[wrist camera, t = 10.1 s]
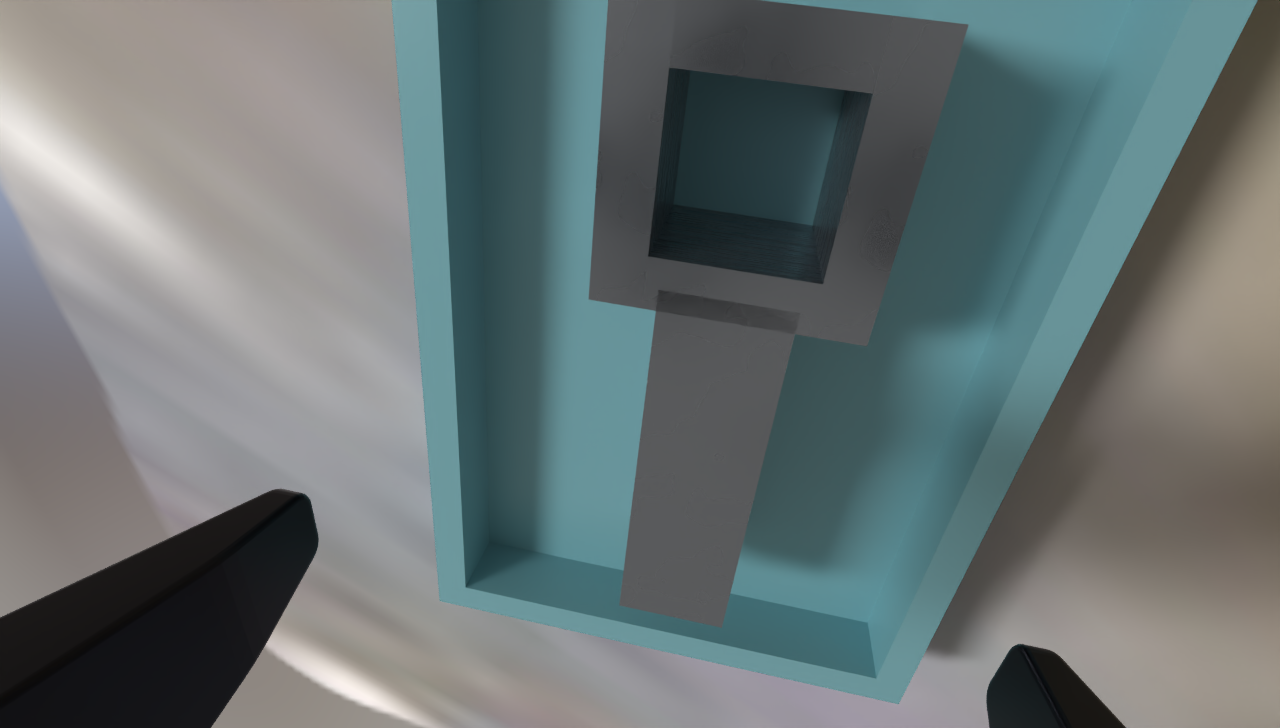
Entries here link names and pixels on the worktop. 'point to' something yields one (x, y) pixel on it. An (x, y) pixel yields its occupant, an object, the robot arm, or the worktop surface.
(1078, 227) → the bin
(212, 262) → the worktop surface
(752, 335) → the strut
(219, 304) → the worktop surface
